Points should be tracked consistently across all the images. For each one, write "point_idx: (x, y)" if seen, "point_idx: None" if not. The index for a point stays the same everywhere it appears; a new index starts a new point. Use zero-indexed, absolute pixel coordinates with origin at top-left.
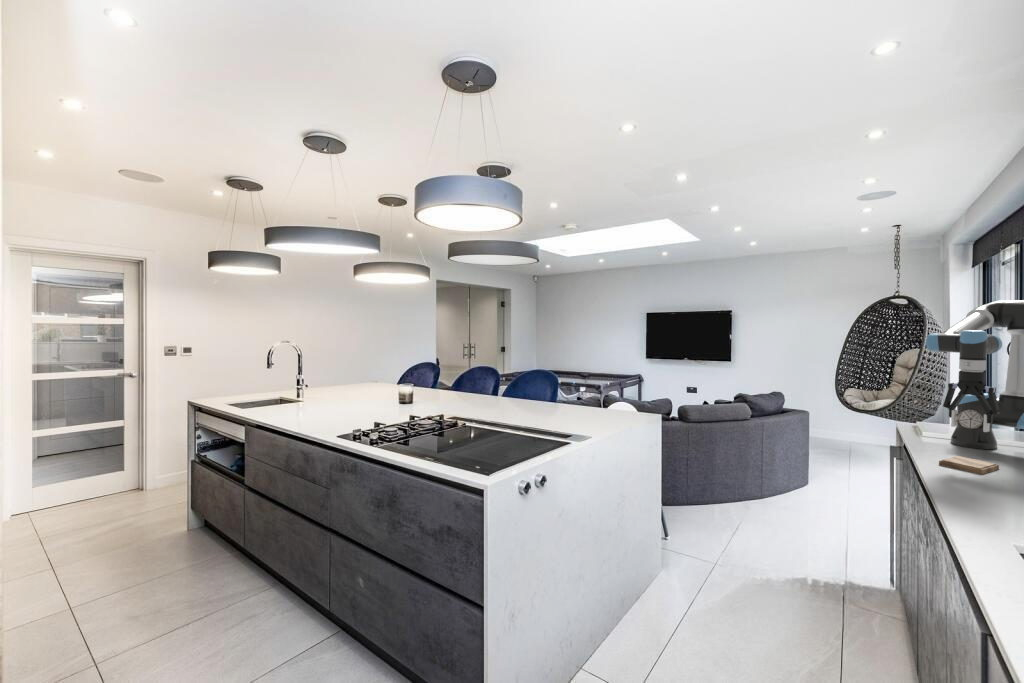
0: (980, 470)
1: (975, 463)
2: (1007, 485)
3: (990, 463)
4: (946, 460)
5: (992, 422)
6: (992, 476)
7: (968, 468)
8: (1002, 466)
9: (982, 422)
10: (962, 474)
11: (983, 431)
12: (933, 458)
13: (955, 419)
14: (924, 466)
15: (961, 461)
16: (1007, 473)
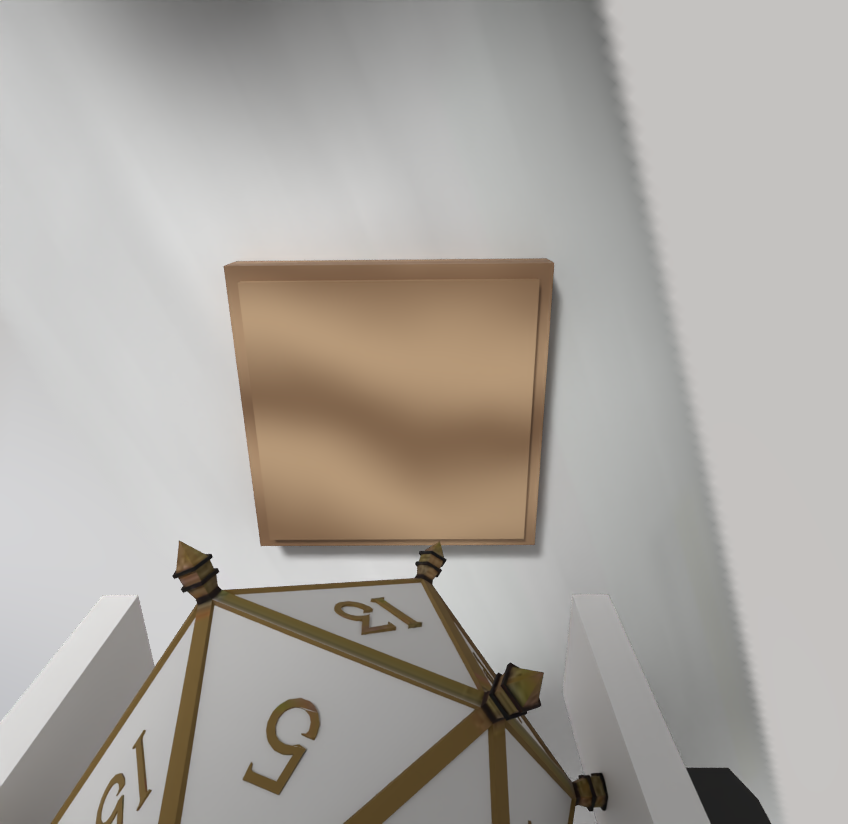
0: (528, 542)
1: (444, 428)
2: (703, 629)
3: (507, 312)
4: (293, 526)
5: (743, 788)
6: (588, 512)
7: (454, 540)
8: (528, 109)
9: (569, 812)
10: (466, 621)
11: (568, 697)
12: (130, 378)
13: (79, 770)
14: None
15: (361, 460)
16: (626, 336)
